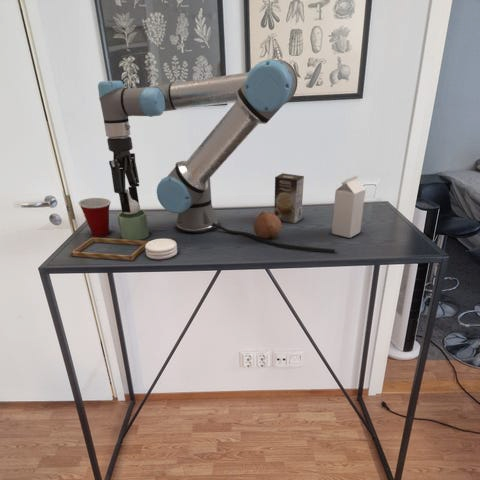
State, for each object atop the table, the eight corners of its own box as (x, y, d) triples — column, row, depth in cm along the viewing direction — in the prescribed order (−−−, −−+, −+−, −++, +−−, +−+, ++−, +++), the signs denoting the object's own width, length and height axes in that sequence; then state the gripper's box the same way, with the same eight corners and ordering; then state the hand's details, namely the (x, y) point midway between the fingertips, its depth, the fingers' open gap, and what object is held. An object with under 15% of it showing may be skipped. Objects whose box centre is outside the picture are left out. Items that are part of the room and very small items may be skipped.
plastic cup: (108, 240, 147) (101, 206, 141) (80, 238, 149) (72, 205, 143) (121, 229, 156) (115, 197, 150) (95, 228, 158) (88, 196, 152)
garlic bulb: (144, 210, 148) (140, 187, 143) (134, 215, 143) (131, 191, 138) (128, 209, 149) (124, 186, 145) (118, 214, 144) (114, 190, 140)
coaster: (179, 257, 133) (178, 247, 131) (148, 262, 130) (146, 251, 128) (174, 246, 141) (173, 236, 139) (144, 250, 138) (143, 240, 137)
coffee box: (273, 219, 161) (273, 176, 152) (280, 215, 165) (281, 172, 157) (294, 223, 156) (296, 179, 148) (302, 218, 161) (304, 175, 153)
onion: (258, 244, 148) (249, 216, 146) (284, 235, 147) (275, 207, 146) (258, 244, 139) (249, 214, 137) (286, 235, 138) (277, 205, 136)
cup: (153, 231, 153) (150, 210, 149) (142, 241, 145) (138, 218, 141) (129, 230, 155) (125, 209, 151) (116, 239, 148) (112, 217, 143)
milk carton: (360, 232, 146) (367, 176, 136) (349, 238, 142) (356, 181, 132) (342, 228, 151) (347, 173, 141) (331, 234, 146) (336, 177, 136)
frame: (149, 244, 143) (148, 241, 142) (131, 260, 132) (131, 256, 131) (93, 241, 147) (92, 237, 146) (71, 256, 136) (70, 252, 135)
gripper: (115, 142, 124) (128, 218, 137) (142, 132, 140) (152, 201, 152) (92, 141, 126) (107, 217, 138) (122, 132, 142) (133, 200, 154)
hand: (130, 208), depth 145 cm, fingers closed on garlic bulb, 6 cm apart
